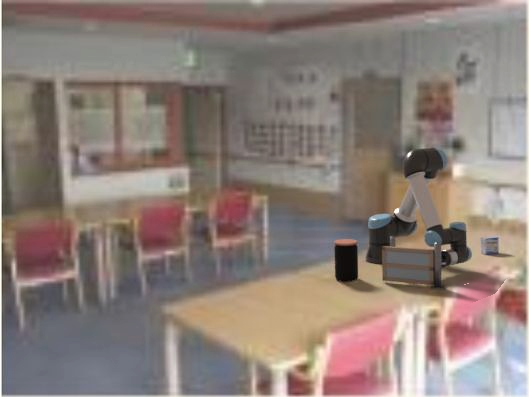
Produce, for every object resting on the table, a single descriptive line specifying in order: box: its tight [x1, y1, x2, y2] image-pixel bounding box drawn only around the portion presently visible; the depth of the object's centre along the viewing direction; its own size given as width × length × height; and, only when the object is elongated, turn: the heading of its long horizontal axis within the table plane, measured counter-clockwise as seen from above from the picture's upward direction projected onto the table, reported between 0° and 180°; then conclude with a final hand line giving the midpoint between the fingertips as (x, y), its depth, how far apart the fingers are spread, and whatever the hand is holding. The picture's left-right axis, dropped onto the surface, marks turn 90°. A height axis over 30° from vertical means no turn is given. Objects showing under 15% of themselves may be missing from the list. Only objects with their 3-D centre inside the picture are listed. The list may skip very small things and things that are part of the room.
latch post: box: [390, 236, 396, 247], centre depth 325 cm, size 2×2×19 cm
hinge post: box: [430, 242, 446, 291], centre depth 304 cm, size 6×6×20 cm
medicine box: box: [480, 236, 500, 256], centre depth 366 cm, size 8×4×9 cm, turn 105°
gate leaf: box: [381, 246, 434, 286], centre depth 310 cm, size 23×2×16 cm, turn 61°
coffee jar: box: [333, 238, 359, 283], centre depth 325 cm, size 11×11×18 cm
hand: (410, 266), depth 311 cm, fingers closed
